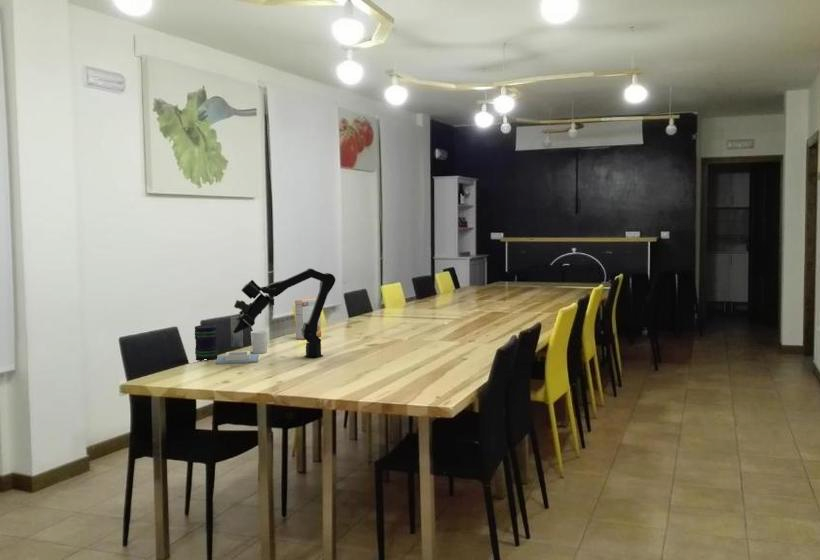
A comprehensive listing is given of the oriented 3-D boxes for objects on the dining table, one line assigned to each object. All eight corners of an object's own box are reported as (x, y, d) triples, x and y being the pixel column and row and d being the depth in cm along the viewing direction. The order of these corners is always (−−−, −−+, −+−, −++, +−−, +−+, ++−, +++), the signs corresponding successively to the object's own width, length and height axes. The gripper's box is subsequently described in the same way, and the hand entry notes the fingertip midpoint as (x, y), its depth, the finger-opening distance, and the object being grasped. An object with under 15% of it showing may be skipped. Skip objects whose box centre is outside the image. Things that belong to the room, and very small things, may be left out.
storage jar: (205, 361, 328) (204, 328, 327) (190, 359, 333) (189, 327, 332) (222, 358, 336) (221, 325, 335) (207, 356, 342) (206, 324, 341)
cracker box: (313, 335, 402) (312, 297, 400) (321, 336, 399) (320, 298, 397) (295, 339, 391) (294, 299, 389) (303, 340, 387) (302, 300, 386)
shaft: (245, 346, 327) (244, 317, 326) (234, 347, 324) (233, 318, 323) (240, 344, 331) (239, 316, 330) (229, 346, 328) (228, 317, 327)
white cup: (264, 354, 346) (263, 333, 345) (248, 353, 348) (247, 332, 347) (270, 351, 354) (270, 330, 353) (255, 350, 355) (254, 330, 355)
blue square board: (258, 355, 342) (258, 349, 342) (257, 362, 324) (257, 356, 324) (218, 357, 339) (218, 351, 339) (215, 364, 321) (215, 358, 321)
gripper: (243, 291, 336) (219, 317, 334) (245, 295, 318) (220, 322, 316) (261, 308, 339) (237, 333, 337) (265, 312, 321) (240, 339, 319)
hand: (233, 331), depth 327 cm, fingers closed on shaft, 5 cm apart
